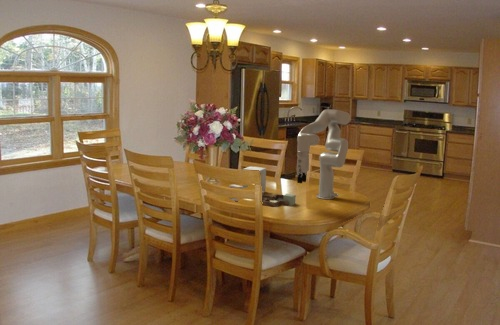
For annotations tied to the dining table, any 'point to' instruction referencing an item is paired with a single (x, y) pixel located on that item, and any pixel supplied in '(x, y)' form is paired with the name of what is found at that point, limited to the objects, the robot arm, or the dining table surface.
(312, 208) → the dining table surface
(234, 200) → the ink box
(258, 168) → the supplement box
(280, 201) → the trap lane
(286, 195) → the block
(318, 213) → the dining table surface
